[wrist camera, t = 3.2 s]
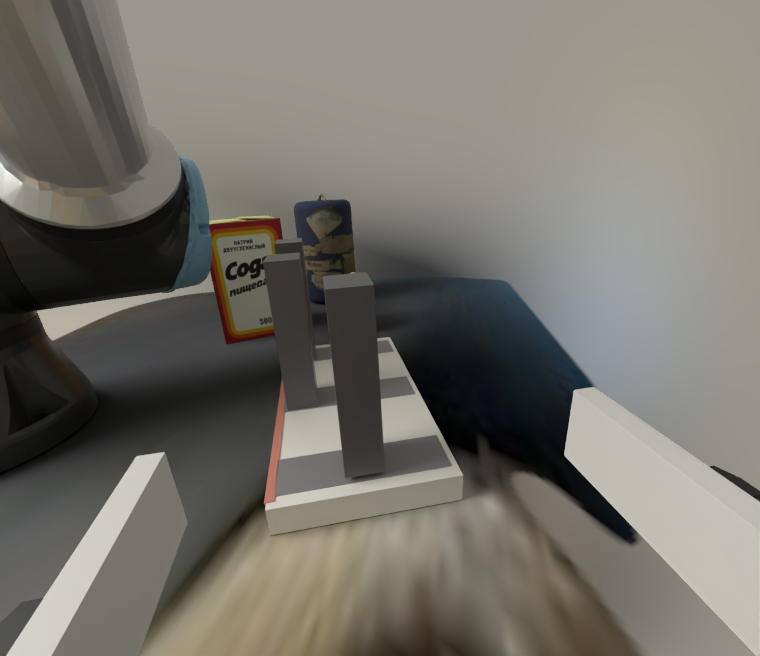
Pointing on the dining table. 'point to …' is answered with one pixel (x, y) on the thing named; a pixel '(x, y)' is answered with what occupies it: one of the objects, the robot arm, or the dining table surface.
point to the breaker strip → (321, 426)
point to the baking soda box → (243, 274)
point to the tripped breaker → (355, 371)
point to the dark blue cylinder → (325, 241)
